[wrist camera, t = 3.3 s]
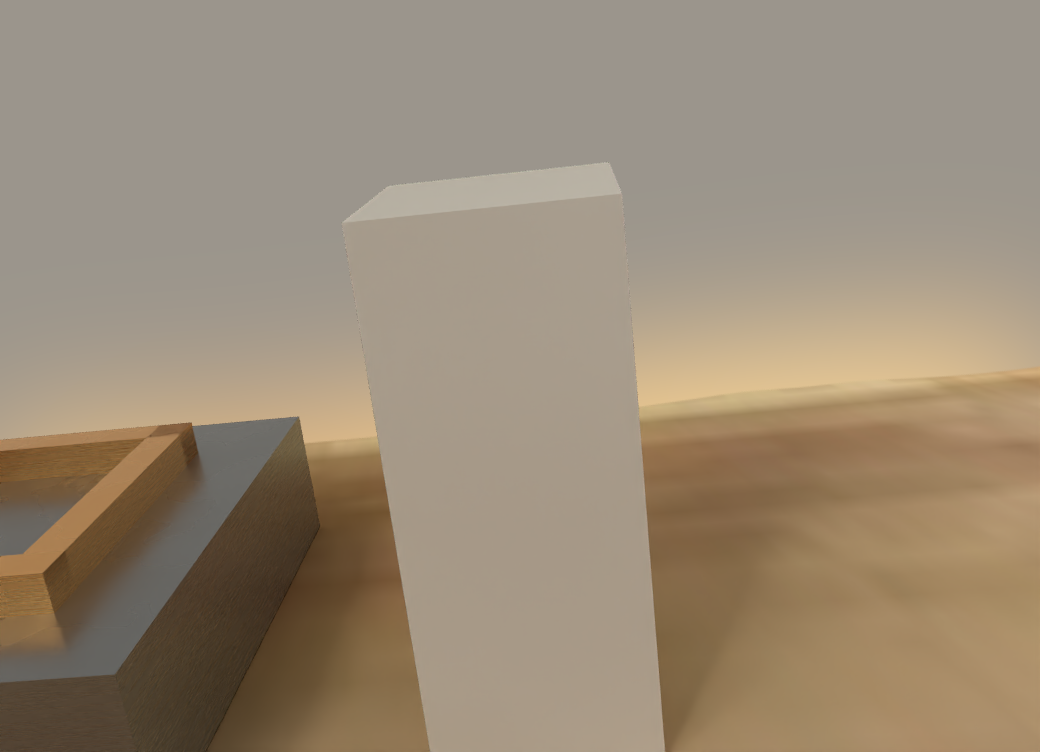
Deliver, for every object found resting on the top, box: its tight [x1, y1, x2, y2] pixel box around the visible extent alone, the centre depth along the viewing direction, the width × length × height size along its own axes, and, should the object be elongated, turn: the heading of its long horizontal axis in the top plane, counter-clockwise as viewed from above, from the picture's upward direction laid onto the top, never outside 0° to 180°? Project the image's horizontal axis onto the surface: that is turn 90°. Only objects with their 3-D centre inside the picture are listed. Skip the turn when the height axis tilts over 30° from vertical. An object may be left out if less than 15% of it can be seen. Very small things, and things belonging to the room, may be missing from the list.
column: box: [342, 162, 665, 752], centre depth 22 cm, size 5×5×12 cm
